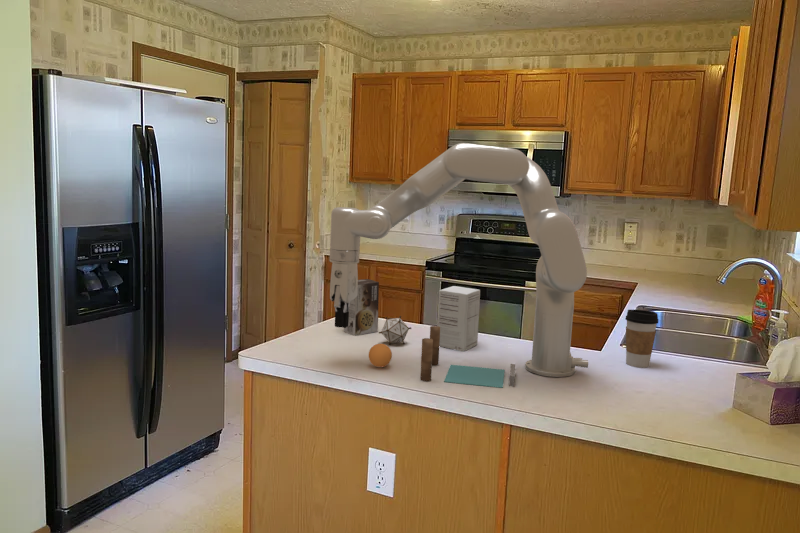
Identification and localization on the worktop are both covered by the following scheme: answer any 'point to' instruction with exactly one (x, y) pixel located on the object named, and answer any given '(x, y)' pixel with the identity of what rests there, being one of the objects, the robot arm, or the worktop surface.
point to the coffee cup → (640, 337)
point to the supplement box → (458, 317)
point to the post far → (435, 344)
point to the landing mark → (475, 376)
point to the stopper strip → (512, 375)
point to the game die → (395, 330)
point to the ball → (380, 355)
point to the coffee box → (364, 309)
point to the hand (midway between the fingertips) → (341, 326)
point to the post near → (426, 359)
